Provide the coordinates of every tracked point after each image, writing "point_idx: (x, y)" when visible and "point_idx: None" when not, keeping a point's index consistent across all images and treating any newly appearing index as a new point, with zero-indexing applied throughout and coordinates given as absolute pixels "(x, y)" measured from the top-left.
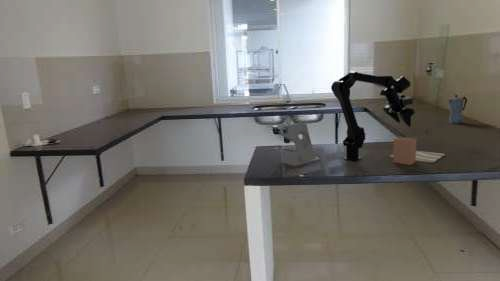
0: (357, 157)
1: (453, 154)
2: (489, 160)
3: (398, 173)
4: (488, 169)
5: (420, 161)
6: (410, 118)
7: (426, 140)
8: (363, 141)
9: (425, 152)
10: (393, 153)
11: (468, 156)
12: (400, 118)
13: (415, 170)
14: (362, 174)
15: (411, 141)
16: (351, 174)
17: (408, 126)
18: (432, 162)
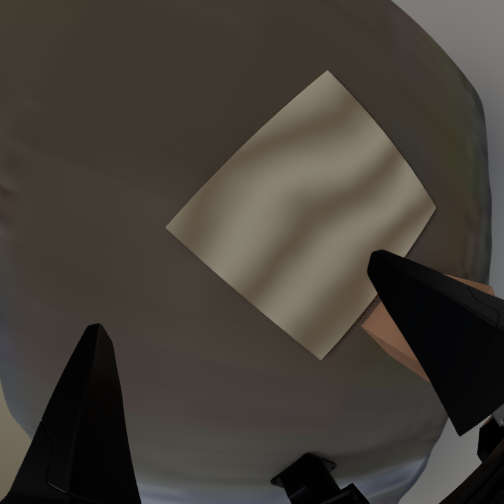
0: (325, 466)
1: (311, 34)
2: (395, 12)
3: None
4: (471, 95)
5: (410, 242)
6: (498, 303)
7: (7, 42)
8: (363, 496)
9: (282, 136)
10: (412, 370)
11: (347, 16)
12: (460, 434)
13: None
14: (437, 429)
15: None
16: (427, 448)
17: (380, 282)
18: (434, 207)
